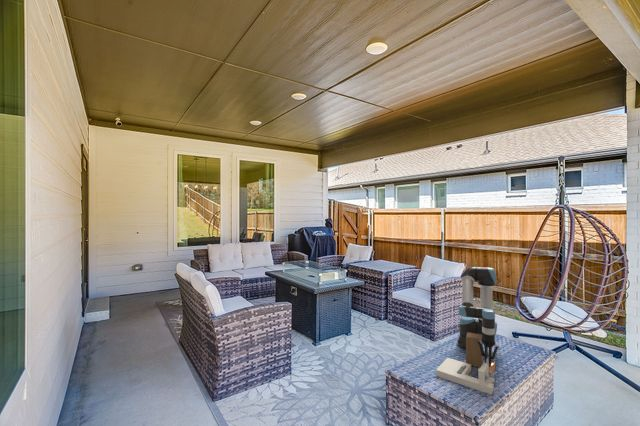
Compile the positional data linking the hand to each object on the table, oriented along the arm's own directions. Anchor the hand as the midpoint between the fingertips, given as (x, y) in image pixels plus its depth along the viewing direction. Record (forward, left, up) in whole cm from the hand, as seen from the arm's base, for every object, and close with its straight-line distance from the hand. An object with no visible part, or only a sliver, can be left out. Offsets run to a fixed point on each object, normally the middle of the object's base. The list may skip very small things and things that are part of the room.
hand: (488, 368), depth 205 cm
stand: (+11, -10, -5) cm, 16 cm away
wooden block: (-12, -11, -5) cm, 17 cm away
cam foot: (+5, +1, -5) cm, 7 cm away
